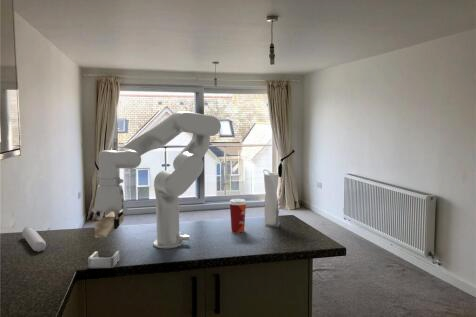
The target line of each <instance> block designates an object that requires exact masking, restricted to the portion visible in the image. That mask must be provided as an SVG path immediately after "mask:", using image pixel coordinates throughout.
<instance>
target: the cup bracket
mask: <svg viewBox="0 0 476 317" xmlns="http://www.w3.org/2000/svg"><path fill="white" fill-rule="evenodd" d="M120 258H121V257H120V250H117V251H115V252H114V254H113V255H112V256H111V257H110V256H109V257H99V251H94V252H93V253H92V254H90V256H88V258H87V266H88V269H111V268H112V269H114V268H115V267H116V266H117V264H118V263H119V262H118V261H120V260H121V259H120ZM117 262H118V263H117Z"/></svg>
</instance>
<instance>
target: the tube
mask: <svg viewBox="0 0 476 317" xmlns="http://www.w3.org/2000/svg"><path fill="white" fill-rule="evenodd" d="M21 234H22V237H23V238H24V240H25V241H26V242H27V244H28V245H29V246H30V248H31V249H32V250H33V251H34V252H36V251H37V253H39V252H44V251H45V249H46V248H47V243H46V241H45V240H44V238H43V237H42V236H41V235H40V234H39V233H38V232H37V230H36V229H35V227H32V226H26V227H24V228H23V230H22V231H21Z"/></svg>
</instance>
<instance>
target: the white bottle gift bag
mask: <svg viewBox="0 0 476 317" xmlns="http://www.w3.org/2000/svg"><path fill="white" fill-rule="evenodd" d="M265 172H267V173H265ZM263 177H264V178H263V179H264V191H265V196H264V227H270V228H279V227H280V225H281V223H280V218H279V217H280V216H279V214H280V210H279V203H278V202H279V201H278V193H277V192H278V187H279V177H280V174H279V173H278V172H276V171H271V172H270V171H269V170H268V169H263Z"/></svg>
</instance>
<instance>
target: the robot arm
mask: <svg viewBox="0 0 476 317" xmlns="http://www.w3.org/2000/svg"><path fill="white" fill-rule="evenodd" d="M221 127H222V125H221V120H220V119H218V117H216V116H214V115H209V114H203V113H198V112H192V111H185V110H184V111H175V112H173V113H172V114H170V115H169V116H167V117H166V118H164V119H163V120H162V121H160V122H159V123H158V124H156V125H155V126H153V127H152V128H151V129H149V130H148V131H147V130H146V132H144V133H142V134H141V135H139V136H137V137H135V138H134V139H132V140H131V141H129V142H128V143H126V144H125V145H123V146H122V147H121V148H120V149H119V150H114V149H113V150H112V149H105V150H100V151H99V152H98V180H99V181H98V182H99V183H98V185H97V188H96V192H95V193H96V194H95V195H96V196H95V204H94V205H93V207H92V209H91V212H92V213H94V214H96V216H98V217H99V219H100V220H101V219H102V218H104V217H105V216H106V212H109V213H110V212H114V214H115V219H114V229H115V230H117V229H118V228H119V227H120V225H119V218H120V217H121V216H122V215H123V216H124V214H126V213H127V212H128V211H129V208H128V206H126V205H125V195H124V189H123V185H122V184H124V179H123V178H121V177H120V169H125V170H126V169H127V170H133V169H137V168H138V167H139V166H141V165H140V164H141V162H142V156H143V155H144V154H146V153H148V152H150V151H154V150H157V149H160V148H163V147H164V146H166V145H168V143H170V142H171V141H173V140H174V139H175V138H176V137H178V136H179V135H181V133H189V134H192V137H191V140H190V141H189V143H188V144H187V145H186V146H185V147H184V148H183V149H182V151H180V152H179V153H178V155H177V156H176V157H174V160H173V163H172V166H173V169H174V170H173V171H171V170H161V171H159V172H158V173H157V174H156V175H155V177H154V180H153V188H154V194H155V207H156V208H155V212H156V216H155V217H156V218H155V219H156V239H155V240H154V241H153V246H154V247H155V248H158V249H165V250H167V249H174V248H178V246H179V247H180V246H182V245H183V244H184V241H190V240H191V235H188V234H182V231H180V200H179V196H182V195H183V194H185V193H186V191H188V189H189V188H190V187H191V186H192V185H193V184H194V183H195V182H196V180H197V179H198V178H199V177H200V175H202V172H203V171H204V170H203V169H204V165H205V164H204V161H203V158H204V156H205V155H206V154H207V153H208V152H209V149H210V148H209V147H210V145H211V137H213V136H216V135H217V134H219V132H220V131H221ZM121 210H123V211H121ZM120 211H121V212H120Z"/></svg>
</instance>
